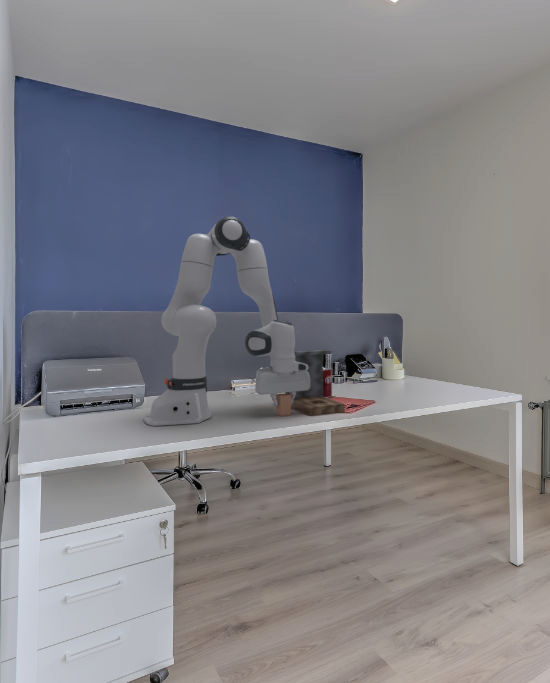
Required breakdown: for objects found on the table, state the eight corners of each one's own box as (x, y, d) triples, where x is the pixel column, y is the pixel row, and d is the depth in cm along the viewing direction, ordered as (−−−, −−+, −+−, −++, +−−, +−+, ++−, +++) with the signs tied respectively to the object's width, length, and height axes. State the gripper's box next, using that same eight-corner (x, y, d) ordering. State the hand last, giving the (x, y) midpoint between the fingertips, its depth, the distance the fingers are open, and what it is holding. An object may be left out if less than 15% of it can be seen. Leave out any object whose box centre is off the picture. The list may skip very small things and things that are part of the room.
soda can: (331, 395, 199) (331, 367, 198) (332, 398, 192) (332, 369, 191) (314, 395, 200) (314, 367, 199) (314, 398, 193) (314, 369, 192)
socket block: (302, 417, 159) (302, 356, 158) (280, 407, 176) (279, 352, 175) (351, 411, 168) (351, 353, 166) (326, 402, 184) (325, 349, 183)
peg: (280, 415, 161) (280, 396, 161) (276, 413, 165) (275, 394, 165) (291, 414, 163) (290, 395, 163) (286, 412, 167) (285, 393, 166)
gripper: (259, 368, 156) (259, 409, 157) (312, 365, 164) (312, 403, 165) (252, 366, 162) (252, 406, 163) (304, 363, 170) (304, 400, 171)
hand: (283, 404), depth 164 cm, fingers closed on peg, 4 cm apart
